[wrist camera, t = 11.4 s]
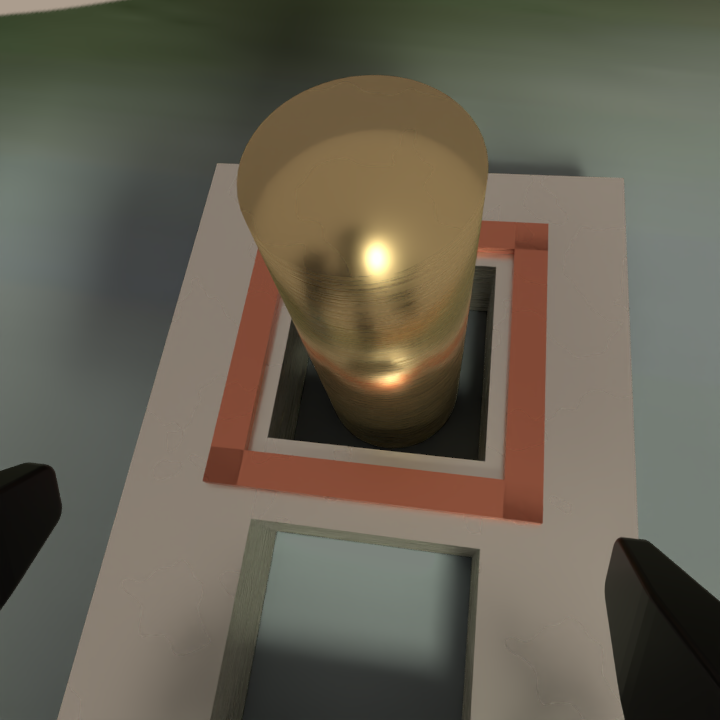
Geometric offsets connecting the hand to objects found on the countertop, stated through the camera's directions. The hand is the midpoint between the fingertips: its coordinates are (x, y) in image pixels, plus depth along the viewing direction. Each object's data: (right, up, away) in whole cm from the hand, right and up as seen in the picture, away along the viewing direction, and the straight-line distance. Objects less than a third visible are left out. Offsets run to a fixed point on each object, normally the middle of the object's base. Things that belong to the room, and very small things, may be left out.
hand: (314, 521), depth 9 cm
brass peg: (+2, +2, +11) cm, 11 cm away
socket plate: (+1, -2, +10) cm, 10 cm away
